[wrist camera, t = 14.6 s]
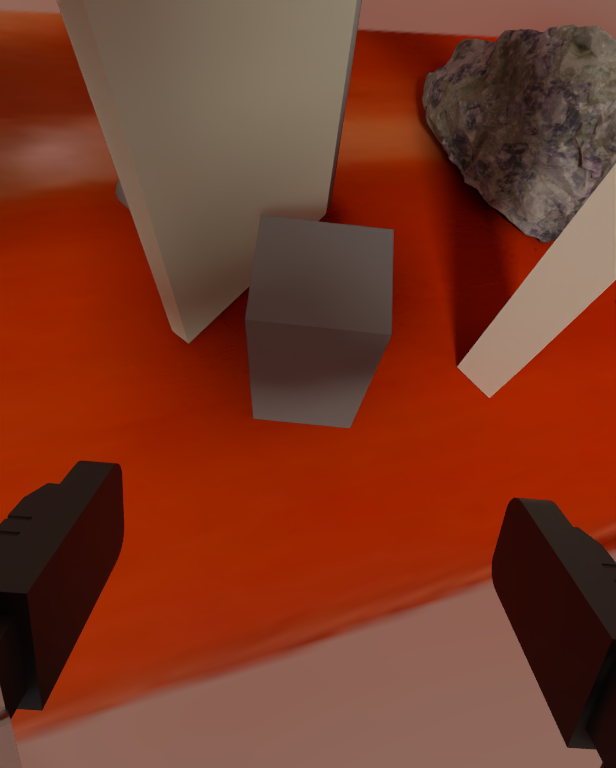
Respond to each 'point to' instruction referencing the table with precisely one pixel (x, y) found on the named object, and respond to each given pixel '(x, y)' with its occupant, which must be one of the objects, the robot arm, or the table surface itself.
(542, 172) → the mineral rock
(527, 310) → the door frame
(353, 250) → the block
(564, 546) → the robot arm
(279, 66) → the door
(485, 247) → the table surface
